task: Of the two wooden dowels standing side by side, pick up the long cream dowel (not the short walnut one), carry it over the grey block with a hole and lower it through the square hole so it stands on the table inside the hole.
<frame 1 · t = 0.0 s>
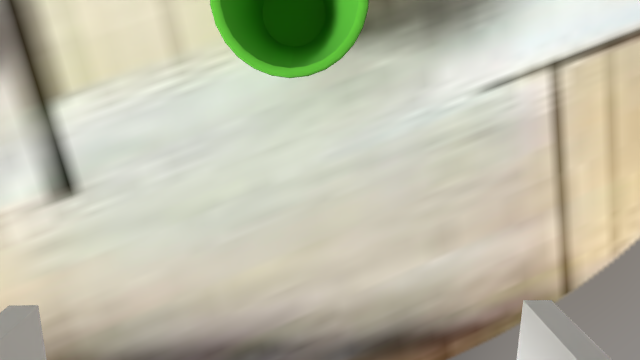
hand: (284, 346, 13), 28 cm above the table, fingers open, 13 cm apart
cup: (294, 15, 38), on the table
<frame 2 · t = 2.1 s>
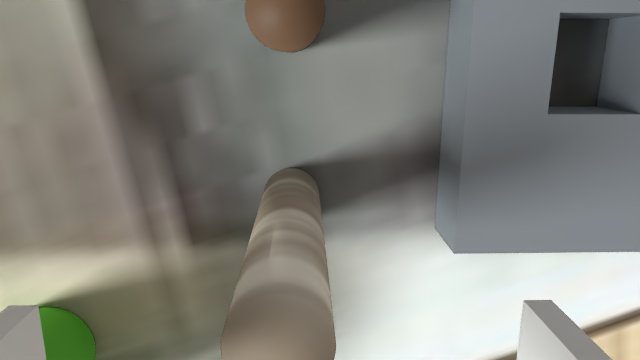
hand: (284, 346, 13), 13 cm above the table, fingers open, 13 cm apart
cup: (54, 342, 28), on the table
short pin: (289, 21, 24), on the table
long pin: (291, 194, 26), on the table
grey block with hole: (561, 63, 25), on the table
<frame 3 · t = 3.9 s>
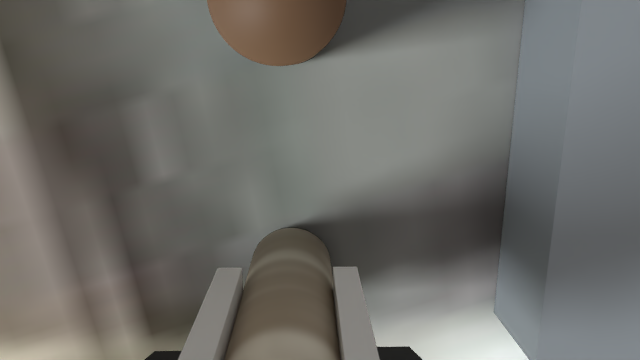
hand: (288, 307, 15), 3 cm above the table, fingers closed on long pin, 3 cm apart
short pin: (287, 18, 16), on the table
long pin: (291, 265, 18), on the table, touching gripper
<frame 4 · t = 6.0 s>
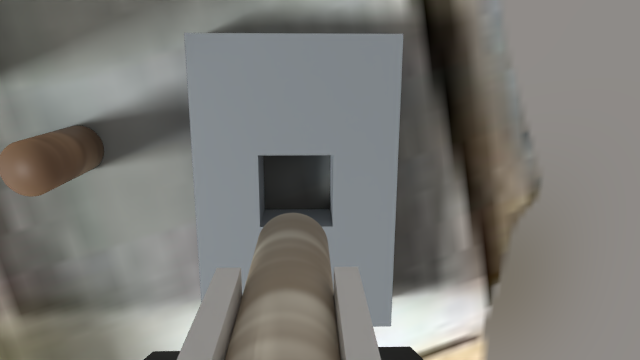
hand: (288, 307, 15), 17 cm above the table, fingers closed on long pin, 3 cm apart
short pin: (80, 148, 31), on the table
long pin: (292, 246, 20), point 12 cm above the table, touching gripper
grey block with hole: (297, 177, 32), on the table
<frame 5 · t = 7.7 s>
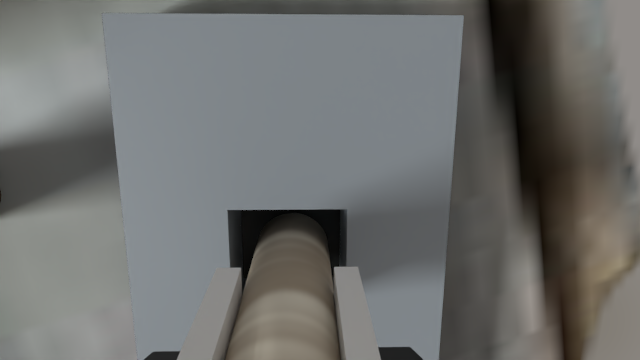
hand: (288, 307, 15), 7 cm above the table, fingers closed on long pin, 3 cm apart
long pin: (292, 246, 20), point 1 cm above the table, touching gripper
grey block with hole: (291, 232, 21), on the table
when the fingers open (5 cm above the table, at t = 8.3 s): long pin stays where it is, resting in grey block with hole.
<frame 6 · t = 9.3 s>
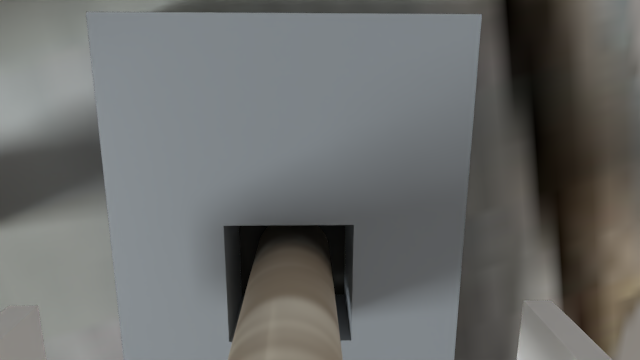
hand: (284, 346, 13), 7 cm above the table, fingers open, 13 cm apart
long pin: (293, 250, 20), resting in grey block with hole
grey block with hole: (292, 247, 20), on the table
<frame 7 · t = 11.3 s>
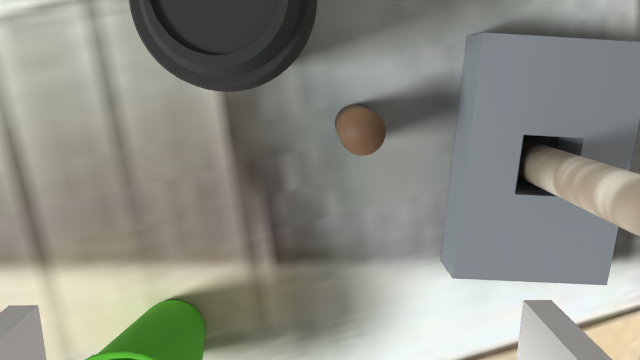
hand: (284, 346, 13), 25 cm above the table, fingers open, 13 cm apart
cup: (176, 324, 41), on the table
coffee cup: (254, 23, 36), on the table
short pin: (354, 123, 37), on the table
long pin: (527, 160, 38), resting in grey block with hole
grey block with hole: (527, 158, 38), on the table
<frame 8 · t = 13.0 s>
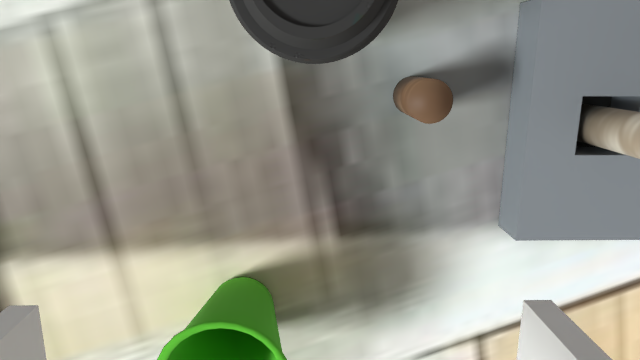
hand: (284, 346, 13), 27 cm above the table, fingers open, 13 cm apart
cup: (243, 301, 42), on the table
coffee cup: (311, 2, 36), on the table
short pin: (411, 95, 38), on the table
long pin: (581, 122, 39), resting in grey block with hole
grey block with hole: (581, 120, 39), on the table
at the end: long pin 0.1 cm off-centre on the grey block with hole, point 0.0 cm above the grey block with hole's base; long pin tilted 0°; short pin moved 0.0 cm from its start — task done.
